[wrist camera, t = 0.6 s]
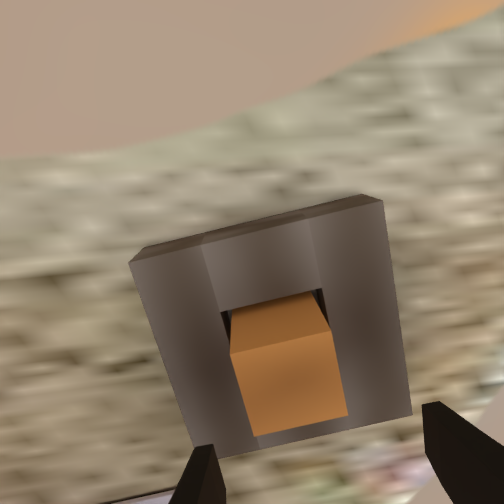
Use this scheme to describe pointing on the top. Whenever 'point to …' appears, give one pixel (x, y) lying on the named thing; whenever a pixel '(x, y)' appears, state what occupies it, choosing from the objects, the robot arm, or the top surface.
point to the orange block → (286, 364)
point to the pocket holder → (272, 287)
